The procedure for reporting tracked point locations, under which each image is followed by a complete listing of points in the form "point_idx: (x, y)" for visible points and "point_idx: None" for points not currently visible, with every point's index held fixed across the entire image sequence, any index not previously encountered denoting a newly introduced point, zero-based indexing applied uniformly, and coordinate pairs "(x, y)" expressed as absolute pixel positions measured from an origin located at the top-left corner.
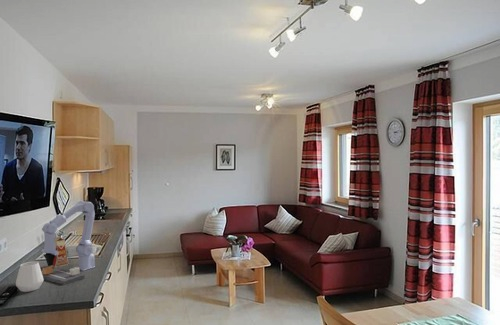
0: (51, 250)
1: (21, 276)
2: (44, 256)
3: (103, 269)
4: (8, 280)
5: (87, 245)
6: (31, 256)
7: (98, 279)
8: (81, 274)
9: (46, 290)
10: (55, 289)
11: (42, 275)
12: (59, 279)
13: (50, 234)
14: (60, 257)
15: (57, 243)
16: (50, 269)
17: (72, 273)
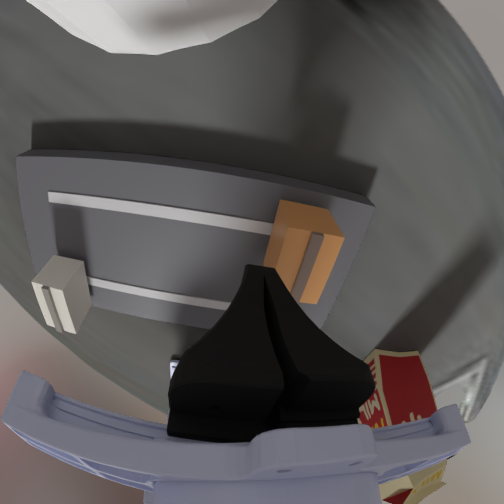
0: (153, 498)
1: None
2: (346, 356)
3: (113, 380)
4: (493, 102)
5: (144, 497)
6: (501, 362)
7: (3, 282)
8: None
9: (45, 29)
10: (15, 74)
11: (83, 36)
12: (66, 166)
13: None
14: (370, 409)
15: (406, 476)
16: (270, 264)
17: (47, 264)
